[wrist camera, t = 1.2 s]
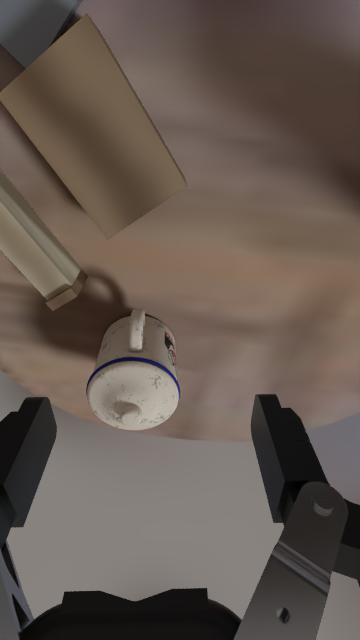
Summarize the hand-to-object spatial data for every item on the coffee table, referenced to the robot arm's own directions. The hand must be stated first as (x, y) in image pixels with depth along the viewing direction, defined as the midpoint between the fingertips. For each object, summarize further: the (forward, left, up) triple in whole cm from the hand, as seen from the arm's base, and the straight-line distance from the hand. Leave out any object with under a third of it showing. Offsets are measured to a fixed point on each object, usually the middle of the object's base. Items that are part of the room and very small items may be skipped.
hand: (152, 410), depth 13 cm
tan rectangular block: (-1, -9, -24) cm, 25 cm away
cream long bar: (+10, -9, -23) cm, 27 cm away
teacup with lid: (+8, +9, -23) cm, 26 cm away
